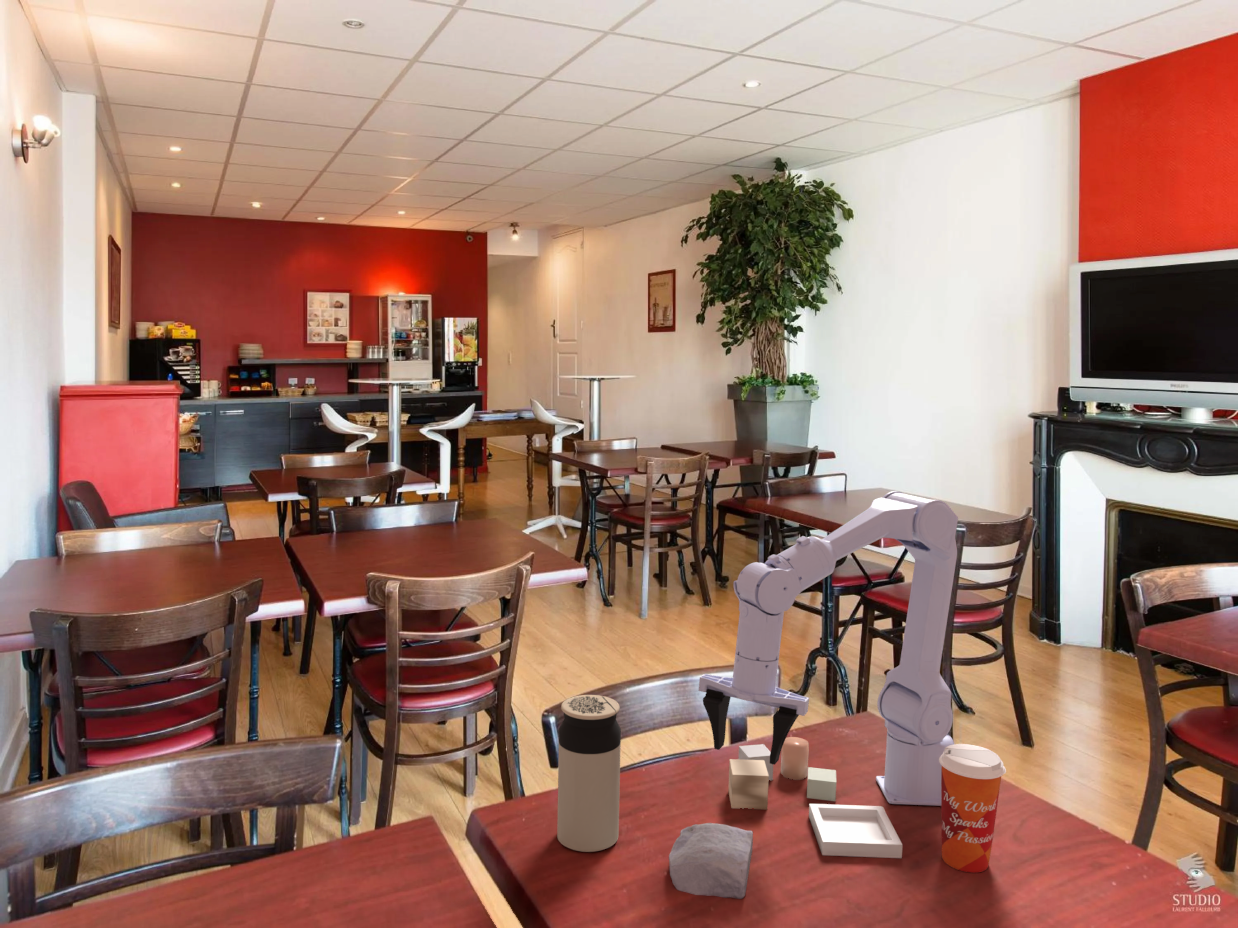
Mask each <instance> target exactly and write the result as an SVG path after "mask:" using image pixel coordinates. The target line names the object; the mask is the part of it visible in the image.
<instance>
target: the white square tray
mask: <svg viewBox="0 0 1238 928" xmlns="http://www.w3.org/2000/svg"><path fill="white" fill-rule="evenodd" d="M808 806H809V807H808V817H809V821H810V824H811V826H812V829H813V833H814V834H815V838H816V841H817V844H818V847H819V850H820V852H821V855H822V856H832V857H833V856H836V857H837V856H840V857H858V858H860V857H861V858H863V857H865V858H886V859H887V858H890V859H903V858H902V857H903V843H902V841H901V839H900V837H899V835H898V834H897V831H896V830H895V828H894V826H893V824H892V822H891V820H890V818H889V815H887V812H886V810H885V808H884V807H883V805H882V806H881V805H858V804H857V805H855V804H830V803H828V804H827V803H809V804H808Z"/></svg>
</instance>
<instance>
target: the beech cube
mask: <svg viewBox="0 0 1238 928" xmlns="http://www.w3.org/2000/svg"><path fill="white" fill-rule="evenodd" d="M728 764H729V767H728V768H729V769H728V795H729V796H728V797H729V801H730V802H729V803H730V807H731V809H740V808H742V810H744V808H748V809H749V810H768V805H769V804H768V801H769V775H768V772H767V768H766V765H765V761H764V760H742V759H738V758H736V759H734V758H729V762H728ZM752 808H754V809H752ZM748 809H747V810H748Z"/></svg>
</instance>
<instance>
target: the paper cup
mask: <svg viewBox="0 0 1238 928" xmlns="http://www.w3.org/2000/svg"><path fill="white" fill-rule="evenodd" d="M939 762H940V764H941V765H942V769H941V806H940V807H941V810H940V813H941V815H940V817H941V819H940V821H941V822H940V823H941V826H940V830H941V831H940V832H941V835H940V836H941V838H940V839H941V841H940V842H941V844H940V845H941V859H942V861H943V862H944V863H945V864H946V865H947V866H949V867H951V868H953V869H954V870H957V871H959V872H960V871H961V872H963V873H969V874H971V873H972V874H973V873H974V874H977V873H982V872H985V871H986V870H988V868H989V863H990V858H991V852H992V847H993V838H994V833H995V824H996V818H997V810H998V803H999V796H1000V790H1001V789H1000V788H1001V782H1002V776H1003V775H1005V774H1006V773H1007V769H1006V767H1005V766H1004V762H1003V760H1002V759H1001V757H1000V755H998V753H996V752H994V751H993V750H990V749H989V748H986V747H982V746H980V745H973V744H968V743H954V745H949V746H947V747H946V748H945V749H944V752H943V754H942V755H941V756H940V758H939Z"/></svg>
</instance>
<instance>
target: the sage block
mask: <svg viewBox="0 0 1238 928" xmlns="http://www.w3.org/2000/svg"><path fill="white" fill-rule="evenodd" d="M806 786H807V787H806V798H807V799H814V800H822V801H828V802H829V801H830V802H836V800H837V799H836V798H837V797H836V796H837V795H836V794H837V793H836V792H837V770H836V769H827V768H819V767H809V766H808V772H807V784H806Z"/></svg>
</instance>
